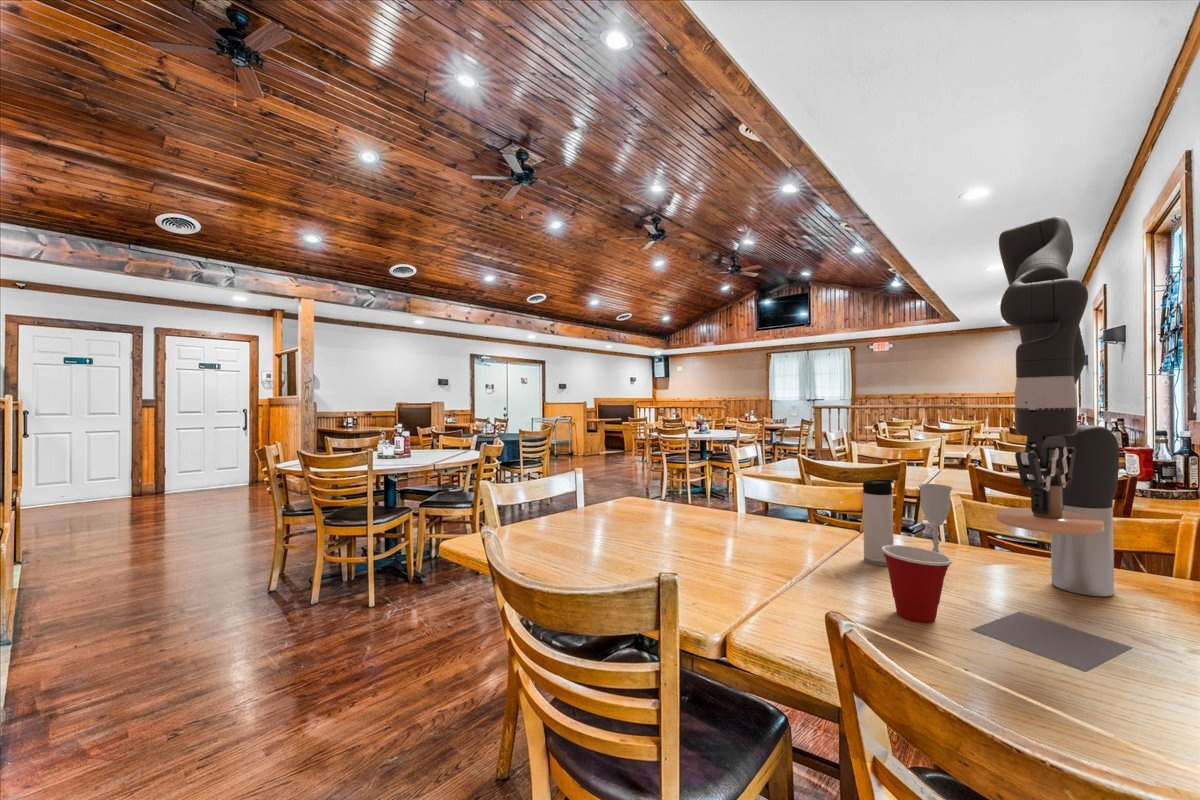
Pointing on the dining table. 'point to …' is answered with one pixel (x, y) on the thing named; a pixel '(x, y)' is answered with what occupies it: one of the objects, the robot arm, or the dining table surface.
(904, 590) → the plastic cup
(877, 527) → the travel mug
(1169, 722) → the dining table surface
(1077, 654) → the mat
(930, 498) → the chalice
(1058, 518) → the lid
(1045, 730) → the dining table surface
